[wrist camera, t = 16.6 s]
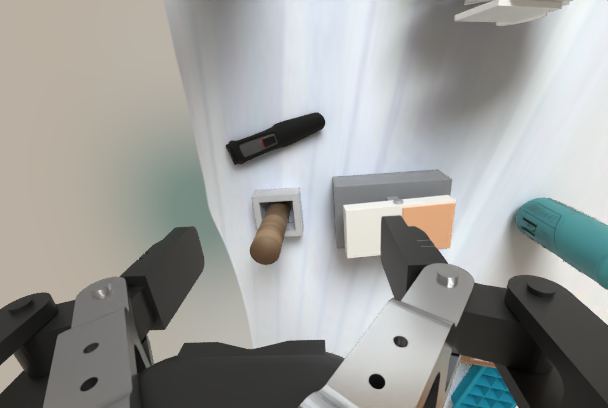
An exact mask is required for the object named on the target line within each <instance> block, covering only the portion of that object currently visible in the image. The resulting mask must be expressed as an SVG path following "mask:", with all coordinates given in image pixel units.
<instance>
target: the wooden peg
mask: <svg viewBox="0 0 608 408" xmlns="http://www.w3.org/2000/svg"><path fill="white" fill-rule="evenodd" d="M290 211H291V206H290V203H289V202H288V201H277V202H271V203H270V205H269V207H268V209H267V211H266V214H265V216H264V218H263V220H262V222H261V225H260V227H259V229H258V231H257V233H256V236H255V238H254V240H253V242H252V244H251V247H250V254H251V257H252V258H253V259H254V260H255V261H256V262H258V263H260V264H264V265H268V264H272V263H274V262H275V261H276V260H277V259H278V258H279V255H280V251H281V247H282V243H283V239H284V235H285V231H286V227H287V223H288V219H289V215H290Z"/></svg>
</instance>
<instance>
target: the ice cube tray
mask: <svg viewBox="0 0 608 408" xmlns="http://www.w3.org/2000/svg"><path fill="white" fill-rule="evenodd" d="M452 401H453V404H454V405H453V407H452V408H515V407H516V406H517V404H516V402H515V400H514V399H513V397H512V395H511V393H510V392H509V390H508V388H507V386H506V384H505V383H504V381H503V379H502V377H501V376H500V374H499V372H498V370H497V369H496V368H492V367H486V366H481V365H474V364H473V366H472V367H471V369H470V370H469V371H468V373H467V374H466V376H465V377H464V379H463V380H462V382H461V383H460V384H459V386H458V387H457V389H456V390H455V392H454V393H453V395H452Z"/></svg>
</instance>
